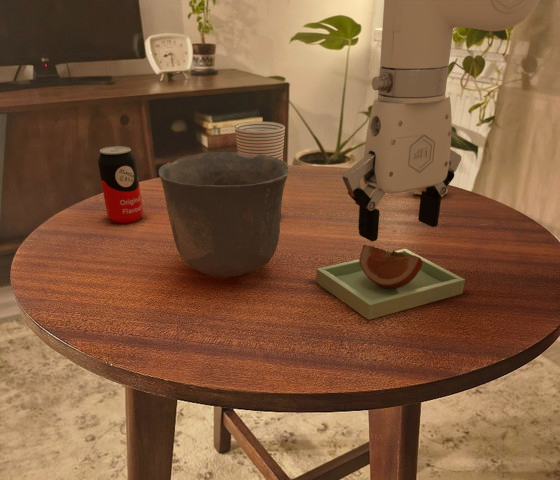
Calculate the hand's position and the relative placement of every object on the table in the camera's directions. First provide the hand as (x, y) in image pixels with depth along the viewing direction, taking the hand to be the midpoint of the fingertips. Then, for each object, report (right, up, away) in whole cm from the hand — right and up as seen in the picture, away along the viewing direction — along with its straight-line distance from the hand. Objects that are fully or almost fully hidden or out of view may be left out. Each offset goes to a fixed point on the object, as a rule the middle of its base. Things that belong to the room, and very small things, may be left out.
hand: (398, 230), depth 73 cm
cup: (-19, +10, +29) cm, 36 cm away
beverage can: (-43, +9, +29) cm, 53 cm away
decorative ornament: (+15, +17, +41) cm, 47 cm away
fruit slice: (-1, -6, +4) cm, 8 cm away
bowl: (-23, -4, +9) cm, 25 cm away
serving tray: (-1, -7, +5) cm, 8 cm away
